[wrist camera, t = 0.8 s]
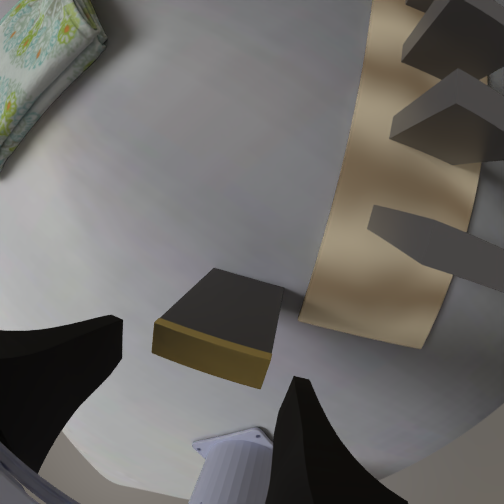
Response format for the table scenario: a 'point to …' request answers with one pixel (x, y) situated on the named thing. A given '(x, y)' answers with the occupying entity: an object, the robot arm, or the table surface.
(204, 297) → the tile
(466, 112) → the tile
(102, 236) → the table surface
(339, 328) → the birch board
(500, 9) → the tile
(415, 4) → the tile
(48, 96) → the towel
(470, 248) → the tile
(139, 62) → the table surface
